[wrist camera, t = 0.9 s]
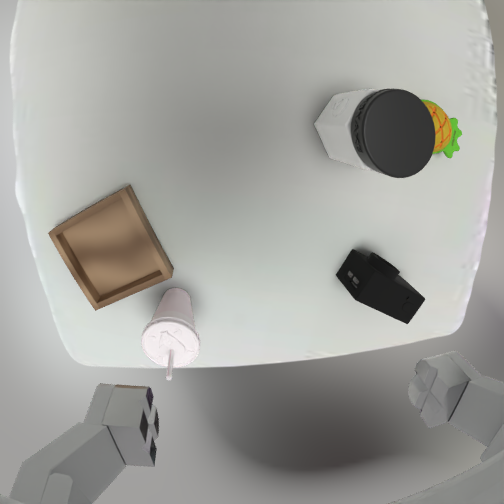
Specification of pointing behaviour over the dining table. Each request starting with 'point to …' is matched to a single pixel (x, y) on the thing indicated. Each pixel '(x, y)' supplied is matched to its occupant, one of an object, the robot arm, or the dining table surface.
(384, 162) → the jar
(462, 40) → the dining table surface
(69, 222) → the tray
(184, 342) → the smoothie
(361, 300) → the digital camera
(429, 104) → the toy pineapple
